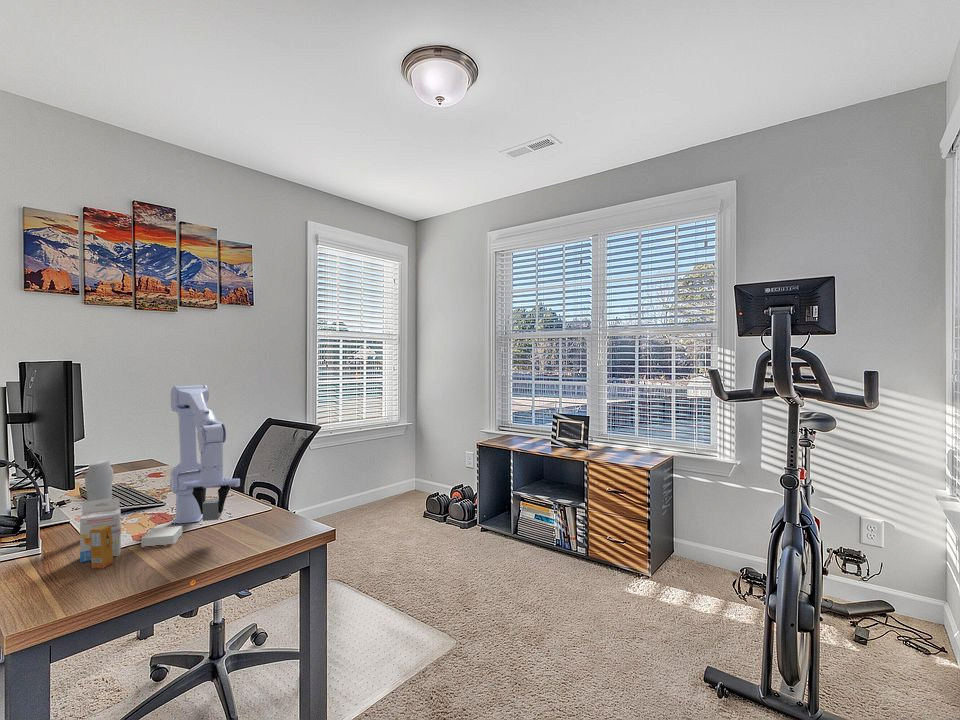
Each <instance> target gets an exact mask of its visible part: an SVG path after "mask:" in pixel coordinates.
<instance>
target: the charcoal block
mask: <svg viewBox="0 0 960 720" xmlns="http://www.w3.org/2000/svg"><path fill="white" fill-rule="evenodd" d="M202 506H203V518H202V522H206V521H218V520H219V519H220V518H221V516H222V513H219V498H210V499H209V498H207V499H206V498H205V501H204V502H203V504H202Z"/></svg>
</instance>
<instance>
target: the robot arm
mask: <svg viewBox="0 0 960 720" xmlns="http://www.w3.org/2000/svg"><path fill="white" fill-rule="evenodd" d="M209 397H210V392H209V388H208V386H207V385H206V384H200V385H199V384H198V385H173V386H172V387H171V390H170V407H171V408H170V409H171V411H172V412H175V413H177V417H178V431H179V432H178V433H179V436H178V439H179V457H180V458H179V461H180V462H179V463H178V464H177V465H175V466H174V467H173V468H172V469H171V470H170V477H169V478H170V479H169V487H170V492H171V493H173V494H174V495H175V514H176V515H175V518H174V520H173V521H171V524H172V523H174V524H175V523H177V524H186V523H187V524H189V523H196V522H197V523H198V522H200V521H201V520H203V506H202V504H203V502H204V501H205V500H206V498H207V497H206V495H207V489H210V488H219V489H217V495H218V499H219V513H221V514H222V513H223V512H224V506H225V502H226V499H227V497H228V494H229V491H230V490H231V487H234V488H238V487H240V485H241V479H240V478H226V477H225V478H224V443H225V442H226V440H227V430H226V426H225V424H224V422H221V421H218V419H217V417H216V415H215V413H214V411H213V410H211V408H208V405H207V403H208V402H209V399H210V398H209ZM197 443H198V451H199V452H200V461H198V458H197V456H198V455H197V454H198V453H197ZM175 525H176V524H175Z"/></svg>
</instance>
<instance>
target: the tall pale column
mask: <svg viewBox="0 0 960 720" xmlns="http://www.w3.org/2000/svg"><path fill="white" fill-rule="evenodd" d="M113 481H114V469H113V468H112V466H111V462H110V459H106V460H97V461H95V462H94V463H92V464H89V465H88V469H87V475H86V476H85V478H84V488H85V490H86V496H87V497H86V502H88V501H96V500H103V499H112V498H113V491H112V490H113ZM107 505H108V504H107V503H105V504H103V503H100V504H98V505H95V507H99V506H107Z"/></svg>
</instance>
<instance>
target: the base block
mask: <svg viewBox="0 0 960 720" xmlns="http://www.w3.org/2000/svg"><path fill="white" fill-rule="evenodd" d="M180 536H183V525H176V526H175V525H174V526H164V527H154V528H153V527H152V528H150V529H149V530H148V531H147V532H146V533H145V534H144V535H143V536H142V537H141V539H140V543H141V545H140V546H141V547H142V548H145V547H144V546H153V547H155V546H154V545H164V546H168V545H167V544H174V543H175V544H176V543H177V541H178V540H179V539H180V538H181V537H180ZM179 537H180V538H179ZM178 538H179V539H178ZM175 544H174V545H175ZM141 547H140V548H141Z"/></svg>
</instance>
